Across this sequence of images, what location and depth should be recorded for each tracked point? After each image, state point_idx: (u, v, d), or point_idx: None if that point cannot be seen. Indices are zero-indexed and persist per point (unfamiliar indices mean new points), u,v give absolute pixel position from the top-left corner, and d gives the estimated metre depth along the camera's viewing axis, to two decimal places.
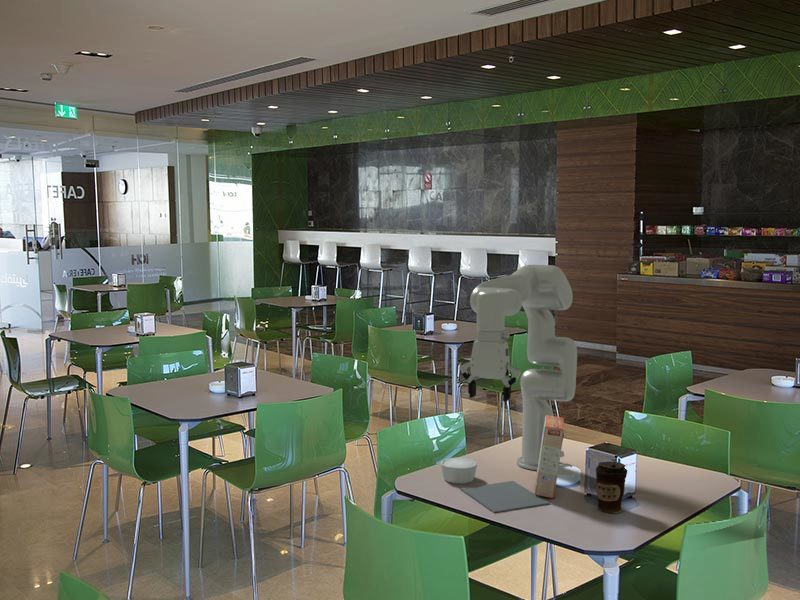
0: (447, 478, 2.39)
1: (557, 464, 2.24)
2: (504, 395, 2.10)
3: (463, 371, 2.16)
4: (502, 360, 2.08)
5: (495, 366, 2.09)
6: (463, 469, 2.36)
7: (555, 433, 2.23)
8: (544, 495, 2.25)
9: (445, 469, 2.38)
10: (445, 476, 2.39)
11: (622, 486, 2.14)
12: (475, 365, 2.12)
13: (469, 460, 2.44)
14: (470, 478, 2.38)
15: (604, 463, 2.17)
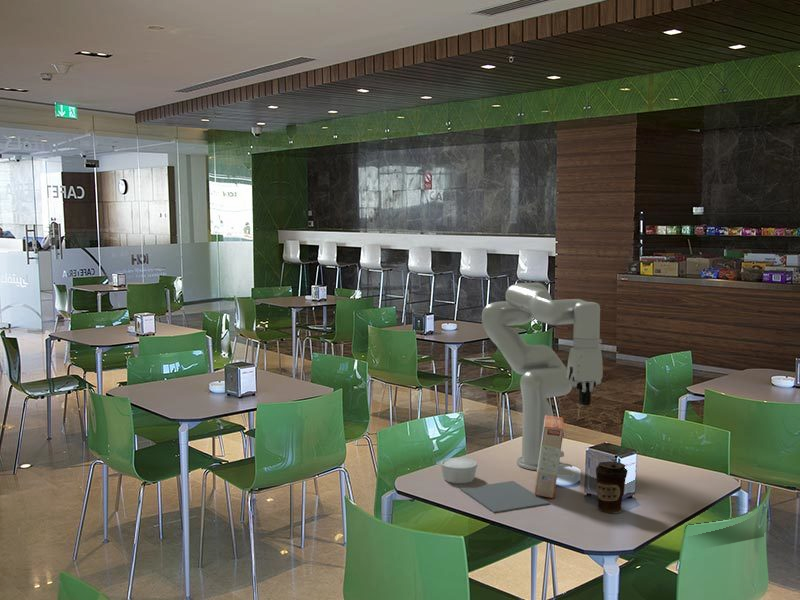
0: (447, 478, 2.39)
1: (557, 464, 2.24)
2: (589, 399, 2.33)
3: (576, 384, 2.32)
4: (601, 363, 2.33)
5: (597, 369, 2.32)
6: (463, 469, 2.36)
7: (555, 433, 2.23)
8: (544, 495, 2.25)
9: (445, 469, 2.38)
10: (445, 476, 2.39)
11: (622, 486, 2.14)
12: (580, 371, 2.30)
13: (469, 460, 2.44)
14: (470, 478, 2.38)
15: (604, 463, 2.17)
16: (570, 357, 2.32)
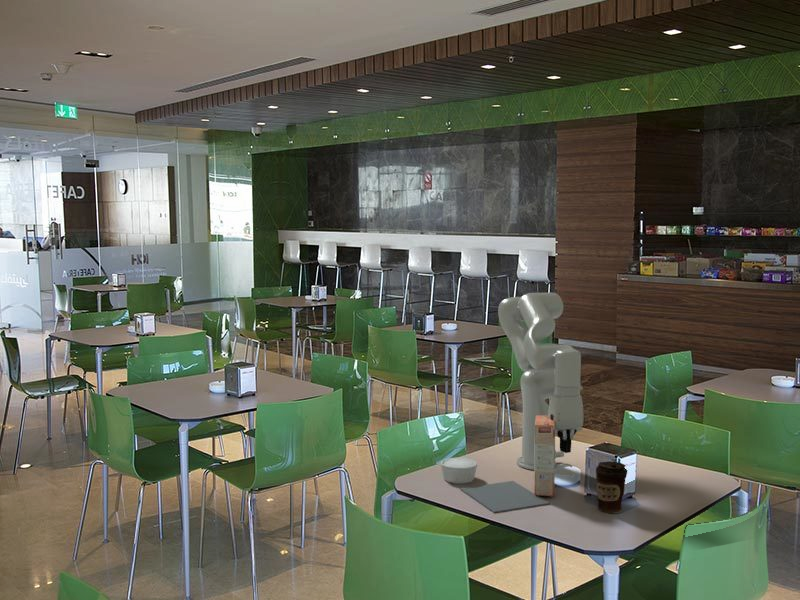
0: (447, 478, 2.39)
1: (552, 461, 2.24)
2: (569, 446, 2.32)
3: (556, 432, 2.31)
4: (582, 410, 2.32)
5: (577, 417, 2.31)
6: (463, 469, 2.36)
7: (546, 430, 2.24)
8: (544, 494, 2.25)
9: (445, 469, 2.38)
10: (445, 476, 2.39)
11: (622, 486, 2.14)
12: (561, 419, 2.29)
13: (469, 460, 2.44)
14: (470, 478, 2.38)
15: (604, 463, 2.17)
16: (551, 405, 2.31)
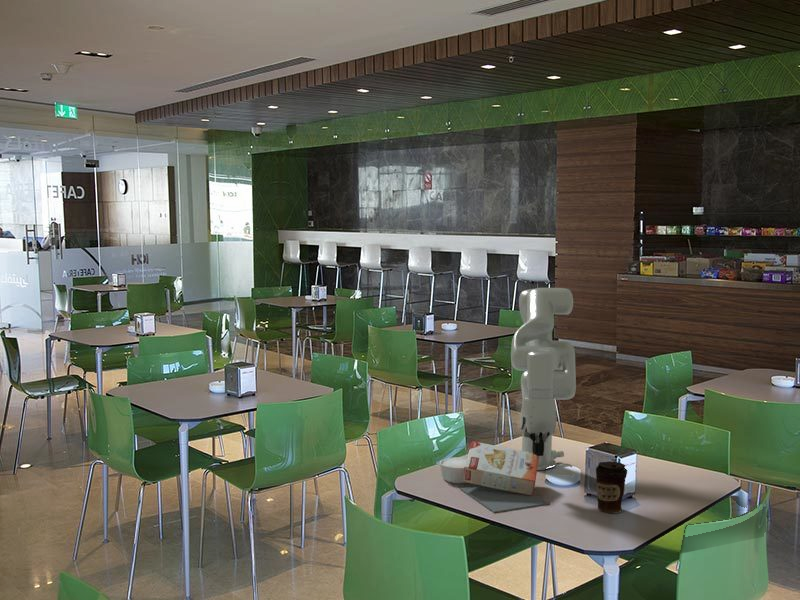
0: (446, 478, 2.39)
1: (499, 475, 2.26)
2: (542, 450, 2.28)
3: (529, 435, 2.27)
4: (555, 413, 2.28)
5: (550, 419, 2.27)
6: (462, 469, 2.36)
7: (468, 474, 2.29)
8: (532, 488, 2.25)
9: (444, 469, 2.39)
10: (444, 476, 2.40)
11: (622, 486, 2.14)
12: (533, 422, 2.25)
13: None
14: None
15: (604, 463, 2.17)
16: (523, 407, 2.27)
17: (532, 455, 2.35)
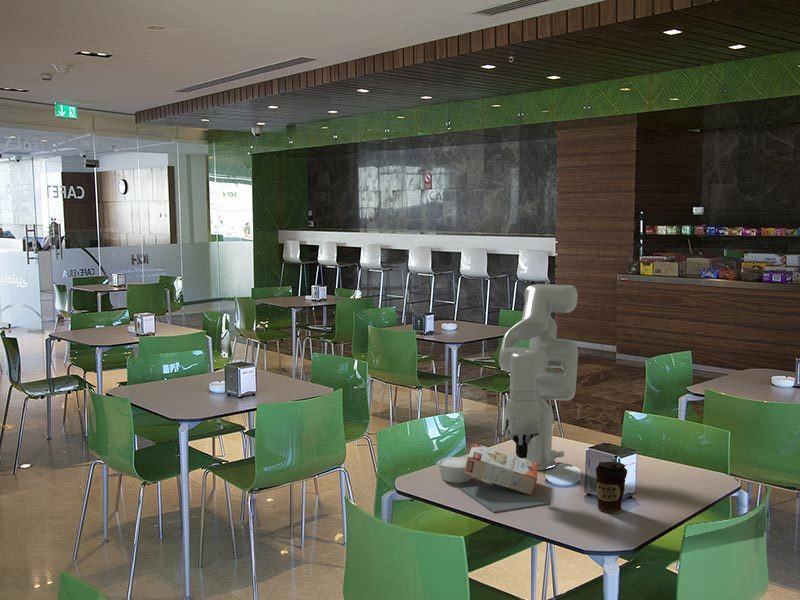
0: (444, 477, 2.39)
1: (502, 468, 2.27)
2: (526, 452, 2.26)
3: (512, 437, 2.25)
4: (539, 415, 2.26)
5: (534, 421, 2.25)
6: (460, 468, 2.37)
7: (471, 465, 2.29)
8: (533, 486, 2.26)
9: (442, 468, 2.39)
10: (443, 475, 2.40)
11: (622, 486, 2.14)
12: (516, 424, 2.23)
13: (466, 460, 2.44)
14: (467, 477, 2.39)
15: (604, 463, 2.17)
16: (506, 409, 2.25)
17: (532, 462, 2.37)
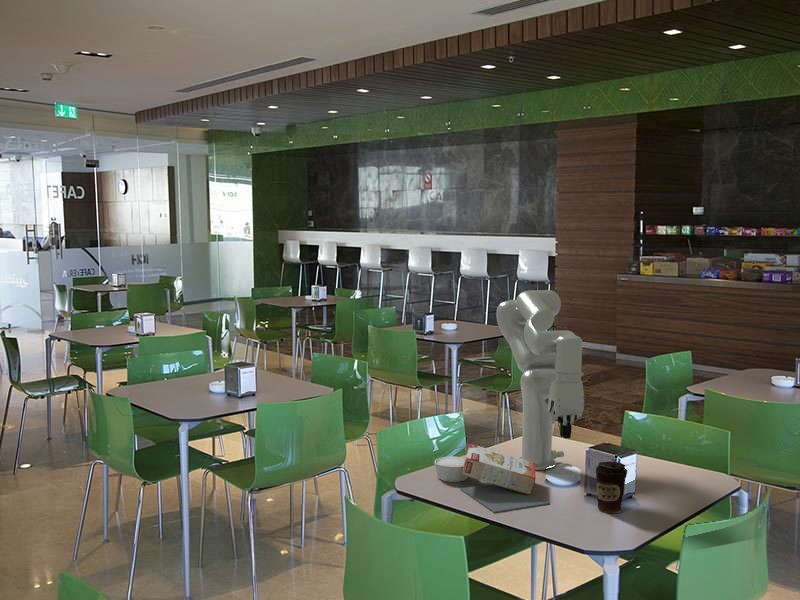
0: (441, 477, 2.40)
1: (501, 469, 2.27)
2: (569, 432, 2.32)
3: (557, 418, 2.31)
4: (583, 396, 2.32)
5: (578, 403, 2.31)
6: (456, 468, 2.37)
7: (469, 466, 2.28)
8: (531, 486, 2.26)
9: (439, 468, 2.40)
10: (439, 475, 2.41)
11: (622, 486, 2.14)
12: (561, 405, 2.29)
13: (463, 459, 2.45)
14: (463, 477, 2.39)
15: (604, 463, 2.17)
16: (551, 390, 2.31)
17: (529, 462, 2.38)
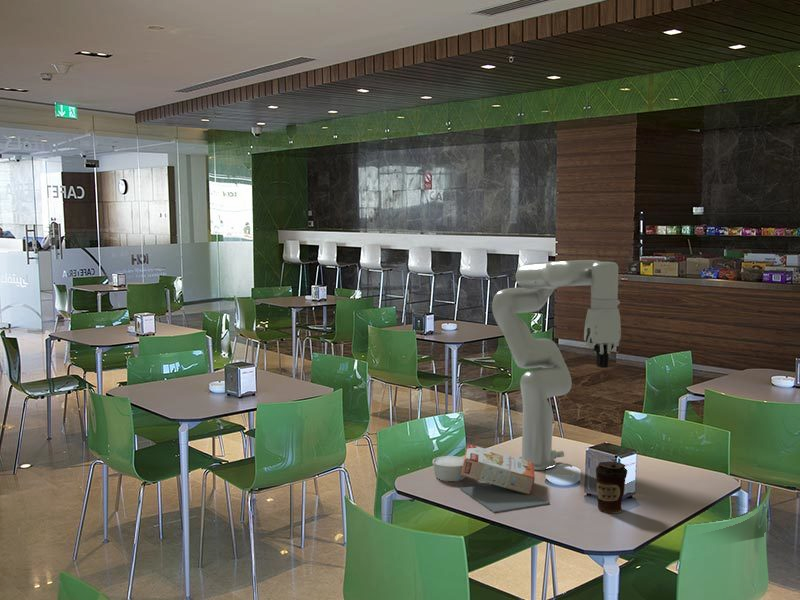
0: (439, 476, 2.40)
1: (500, 469, 2.27)
2: (607, 361, 2.27)
3: (593, 346, 2.26)
4: (620, 324, 2.27)
5: (615, 331, 2.26)
6: (454, 467, 2.38)
7: (468, 466, 2.28)
8: (530, 486, 2.26)
9: (437, 467, 2.40)
10: (437, 474, 2.41)
11: (622, 486, 2.14)
12: (598, 332, 2.24)
13: (460, 458, 2.45)
14: (461, 476, 2.40)
15: (604, 463, 2.17)
16: (587, 318, 2.26)
17: (527, 462, 2.38)
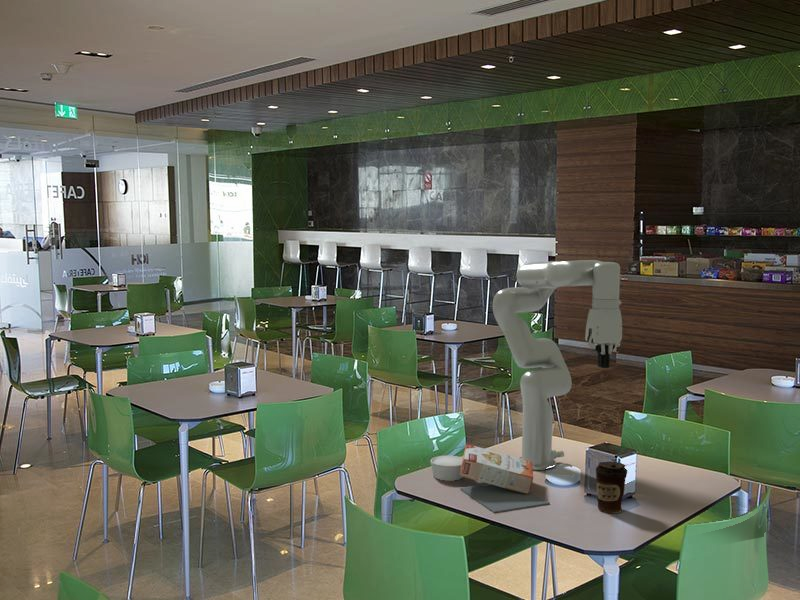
0: (437, 476, 2.41)
1: (498, 469, 2.27)
2: (608, 362, 2.27)
3: (595, 346, 2.26)
4: (621, 324, 2.27)
5: (616, 331, 2.26)
6: (452, 467, 2.38)
7: (467, 467, 2.28)
8: (529, 485, 2.27)
9: (435, 467, 2.41)
10: (435, 474, 2.42)
11: (622, 486, 2.14)
12: (600, 333, 2.24)
13: (458, 458, 2.46)
14: (459, 476, 2.40)
15: (604, 463, 2.17)
16: (589, 318, 2.26)
17: (526, 461, 2.38)
